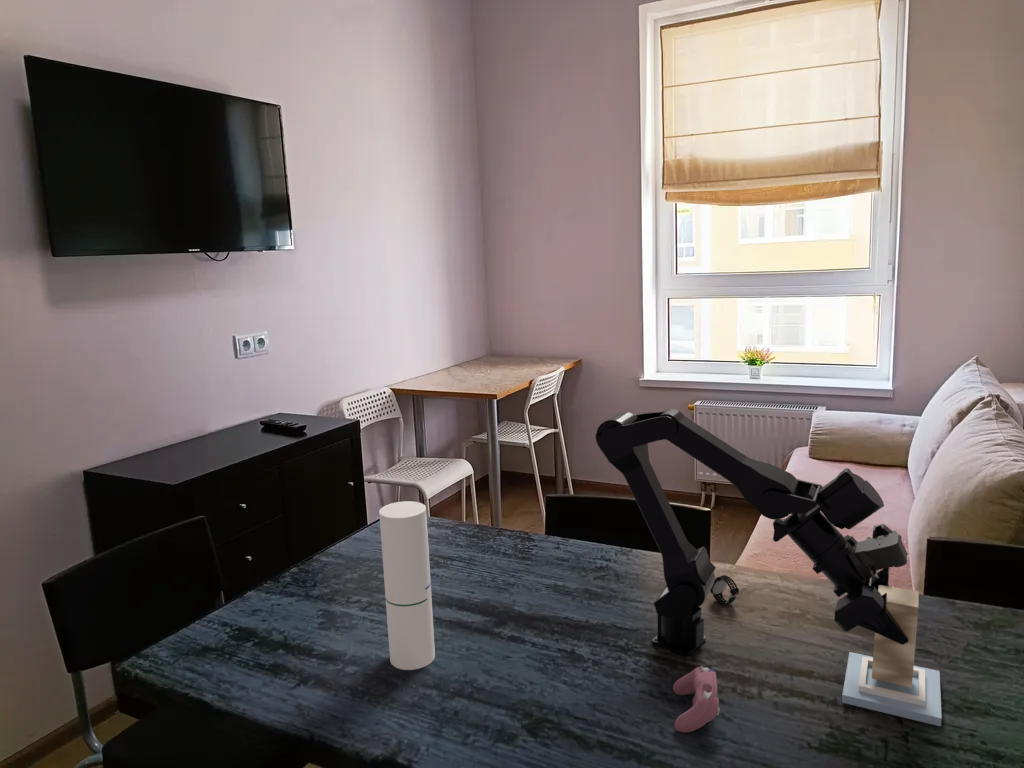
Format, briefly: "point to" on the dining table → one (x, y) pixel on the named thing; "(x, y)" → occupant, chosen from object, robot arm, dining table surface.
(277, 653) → the dining table surface
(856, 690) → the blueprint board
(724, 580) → the smartwatch
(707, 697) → the video game controller
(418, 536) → the cylindrical container
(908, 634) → the maple pillar
